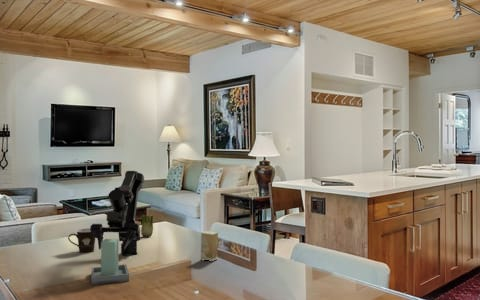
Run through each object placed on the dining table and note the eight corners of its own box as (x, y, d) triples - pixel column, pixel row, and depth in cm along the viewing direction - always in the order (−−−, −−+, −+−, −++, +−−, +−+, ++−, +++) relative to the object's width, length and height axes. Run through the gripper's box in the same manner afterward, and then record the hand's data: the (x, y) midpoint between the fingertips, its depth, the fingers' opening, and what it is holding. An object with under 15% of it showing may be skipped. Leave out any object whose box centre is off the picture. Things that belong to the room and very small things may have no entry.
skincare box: (200, 260, 176) (200, 232, 176) (205, 257, 180) (205, 230, 180) (212, 262, 173) (213, 234, 173) (218, 259, 177) (218, 232, 177)
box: (126, 270, 161) (126, 264, 161) (129, 280, 148) (129, 274, 148) (91, 273, 156) (91, 267, 156) (91, 284, 144) (91, 278, 144)
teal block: (105, 272, 155) (105, 239, 155) (118, 272, 155) (118, 239, 155) (101, 276, 150) (101, 242, 150) (114, 276, 150) (114, 242, 150)
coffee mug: (99, 249, 193) (99, 228, 193) (91, 254, 184) (91, 232, 184) (76, 248, 194) (76, 227, 194) (66, 253, 185) (67, 231, 185)
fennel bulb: (153, 236, 222) (153, 214, 221) (149, 238, 217) (149, 216, 217) (144, 235, 223) (144, 214, 223) (139, 237, 218) (139, 215, 218)
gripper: (91, 203, 159) (81, 237, 148) (139, 203, 160) (133, 237, 149) (97, 219, 167) (88, 253, 156) (142, 219, 168) (137, 252, 157)
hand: (111, 249), depth 155 cm, fingers open, 9 cm apart
